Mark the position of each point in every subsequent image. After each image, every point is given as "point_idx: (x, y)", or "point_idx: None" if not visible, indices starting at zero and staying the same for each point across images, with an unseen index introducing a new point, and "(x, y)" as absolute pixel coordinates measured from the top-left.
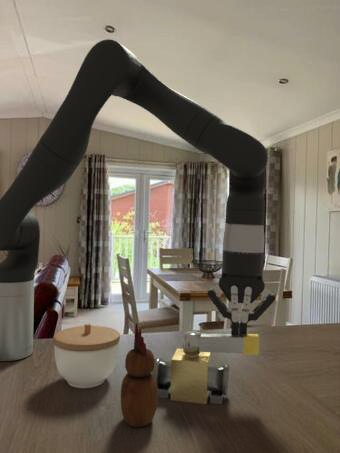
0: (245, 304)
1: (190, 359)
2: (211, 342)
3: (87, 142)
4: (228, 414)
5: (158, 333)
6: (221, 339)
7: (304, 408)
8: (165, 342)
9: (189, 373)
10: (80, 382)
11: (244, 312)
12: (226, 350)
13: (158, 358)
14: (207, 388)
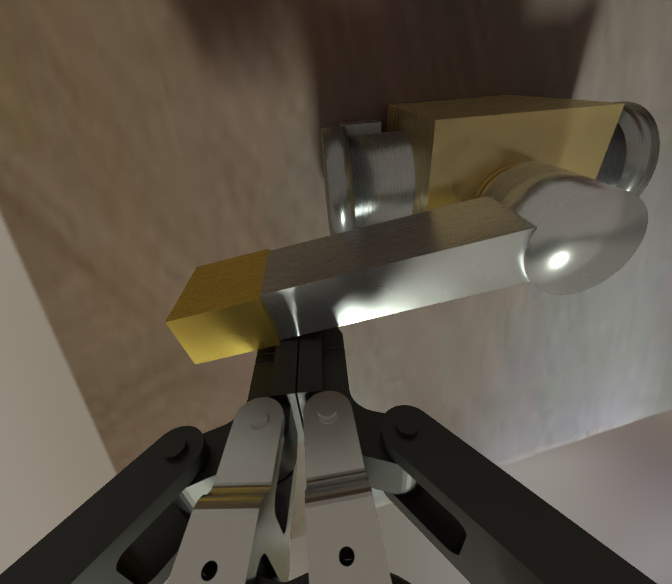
0: (220, 567)
1: (522, 139)
2: (445, 231)
3: None
4: (306, 47)
5: (519, 457)
6: (392, 253)
7: (86, 186)
8: (505, 426)
9: (496, 106)
10: None
11: (251, 476)
12: (352, 234)
13: (636, 182)
14: (398, 129)
